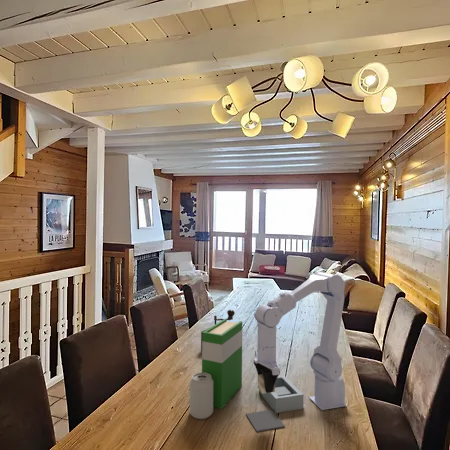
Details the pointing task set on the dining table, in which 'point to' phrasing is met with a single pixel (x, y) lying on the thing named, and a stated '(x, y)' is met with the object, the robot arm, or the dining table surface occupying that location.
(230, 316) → the coffee grinder
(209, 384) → the can
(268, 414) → the mat
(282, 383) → the slot box
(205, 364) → the hardback book
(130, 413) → the dining table surface
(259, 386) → the block
